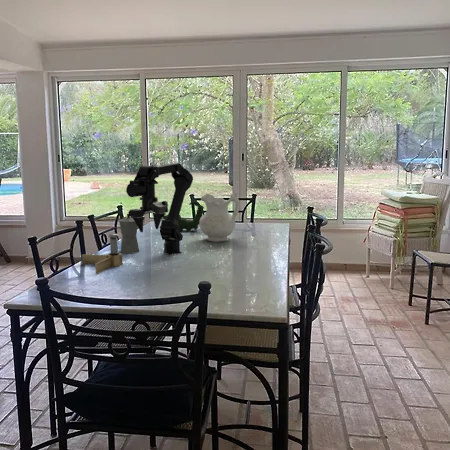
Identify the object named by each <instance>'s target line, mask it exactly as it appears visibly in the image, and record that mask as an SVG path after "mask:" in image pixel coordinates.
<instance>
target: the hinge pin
mask: <svg viewBox="0 0 450 450" xmlns="http://www.w3.org/2000/svg"><path fill="white" fill-rule="evenodd" d="M118 237H119V233H109V234H108V238H109V246H110V247H109V249H110V253H111V255H113V256H114V255H118V253H119V246H118V245H119V244H118Z"/></svg>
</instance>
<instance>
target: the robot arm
mask: <svg viewBox="0 0 450 450" xmlns="http://www.w3.org/2000/svg"><path fill="white" fill-rule="evenodd" d="M167 174H171V175H170V176H171V178H173V185H174V188H175V189H174V193H173V196H172V200H171V204H170V207H169V204H168V201H167V200H163V201H159V199H158V197H156V191H155V190H156V186H155V185H157V184H159V182H158V181H157V178H159V177H160V176H161V175H167ZM193 180H194V176H193V175H192V173H191V172H190V171H189V170H188V169H187V168H185V167H183V165H182V164H181V163H179V162H170V163H167V164H160V165H140V166H139V169H138V170H137V173H136V175H135V177H134V180H129V183H128V184H127V186H126V189H125V191H126V194H127V196H128V197H129V198H137V197H139V201H141V206H139V208H133V209H129V210H128V213H127V214H129V216H130V218H133V220H134V221H135V223H136V224H137V226H138V227H137V229H138V230H139V232H140V233H144V219H145V218H146V217H145V215H146V214H151V213H152V217H153V222H154V227H155V230H159V233H160V236H161V240H162V241H163V240H164V243H163V253H164V254H167V255H171V256H172V255H177V254H182V251H181V248H180V247H181V246H180V245H181V241H183V238H184V237H183V236H184V235H183V234H182V233H181V231H180V230H179V223H178V218H179V215H181V210H182V206H183V203H184V199H185V195H186V192H187V191H188V190H189V189H190V188H191V186H192V184H193ZM167 213H168V214H167ZM164 215H168V217H167V219H166V220H165V219H163V218H162V217H163V216H164Z"/></svg>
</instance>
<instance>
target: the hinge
mask: <svg viewBox="0 0 450 450" xmlns="http://www.w3.org/2000/svg"><path fill="white" fill-rule="evenodd" d="M81 261H82V265H95V267H94V268H95V274H99V273H102V272H104V271H106V270H108V269H110V268H111V267H120V266H122V265H124V264H123V253H122V252H118V255H114V256H113V255H111V252H108V253H107V254H84V253H83V254H81Z"/></svg>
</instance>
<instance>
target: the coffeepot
mask: <svg viewBox="0 0 450 450" xmlns="http://www.w3.org/2000/svg"><path fill="white" fill-rule="evenodd" d="M118 222H119V227H120V233H121V245H120V246H121V247H120V253H121V254H134V253H138V252H140V247H139V243H138V237H137V234H138V226H137V224H136V223H135V221H134V220H133V218H131V216H129V213H127V214H126V217H125V216H122V217H121V219H119V220H118Z"/></svg>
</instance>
